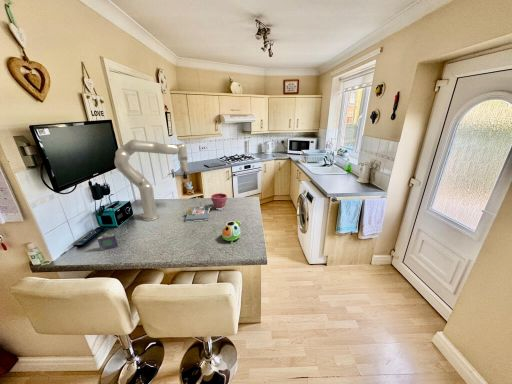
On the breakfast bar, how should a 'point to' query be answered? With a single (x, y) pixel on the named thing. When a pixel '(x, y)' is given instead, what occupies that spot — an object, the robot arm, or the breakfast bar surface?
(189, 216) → the panel
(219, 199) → the plant pot
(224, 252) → the breakfast bar surface
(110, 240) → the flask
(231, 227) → the turtle holder
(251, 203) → the breakfast bar surface
